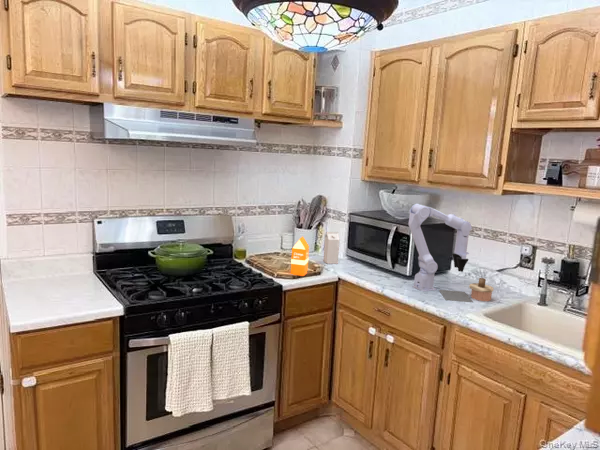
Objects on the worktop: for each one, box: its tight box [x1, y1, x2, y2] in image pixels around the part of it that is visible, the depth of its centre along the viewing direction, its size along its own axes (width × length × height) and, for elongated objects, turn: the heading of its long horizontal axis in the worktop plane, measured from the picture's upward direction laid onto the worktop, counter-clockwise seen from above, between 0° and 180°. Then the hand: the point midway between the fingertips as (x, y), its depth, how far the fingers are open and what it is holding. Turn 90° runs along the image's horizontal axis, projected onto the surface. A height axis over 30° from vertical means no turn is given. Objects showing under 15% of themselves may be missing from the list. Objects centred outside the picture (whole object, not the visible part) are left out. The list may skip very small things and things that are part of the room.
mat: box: [438, 289, 474, 303], centre depth 219 cm, size 13×16×1 cm
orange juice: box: [290, 236, 310, 277], centre depth 244 cm, size 8×9×20 cm
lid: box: [468, 277, 495, 293], centre depth 217 cm, size 11×11×5 cm
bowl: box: [470, 289, 493, 302], centre depth 218 cm, size 9×9×5 cm
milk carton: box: [323, 231, 341, 265], centre depth 271 cm, size 7×7×19 cm
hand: (458, 269), depth 231 cm, fingers open, 7 cm apart
